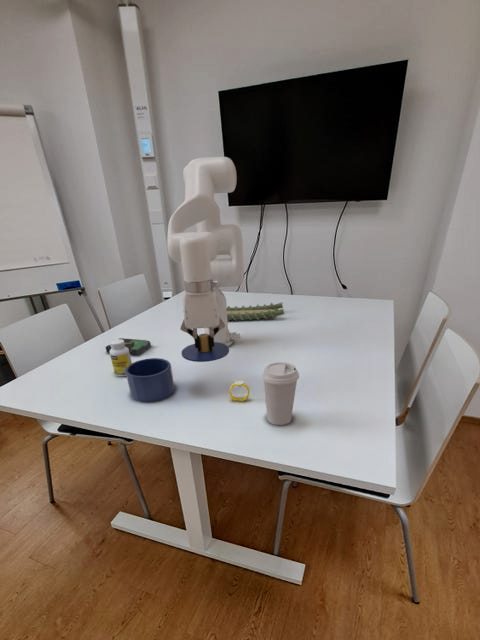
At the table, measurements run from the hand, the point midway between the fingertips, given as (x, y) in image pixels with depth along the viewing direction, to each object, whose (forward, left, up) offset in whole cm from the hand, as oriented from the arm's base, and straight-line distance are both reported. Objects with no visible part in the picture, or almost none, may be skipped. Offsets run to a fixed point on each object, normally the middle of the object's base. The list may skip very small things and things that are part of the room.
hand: (205, 348), depth 109 cm
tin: (+18, +1, -13) cm, 22 cm away
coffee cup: (-19, +23, -13) cm, 32 cm away
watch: (-9, +11, -13) cm, 19 cm away
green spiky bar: (-17, -69, -13) cm, 72 cm away
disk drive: (+32, -37, -13) cm, 51 cm away
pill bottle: (+30, -15, -13) cm, 36 cm away
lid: (0, 0, -1) cm, 1 cm away
